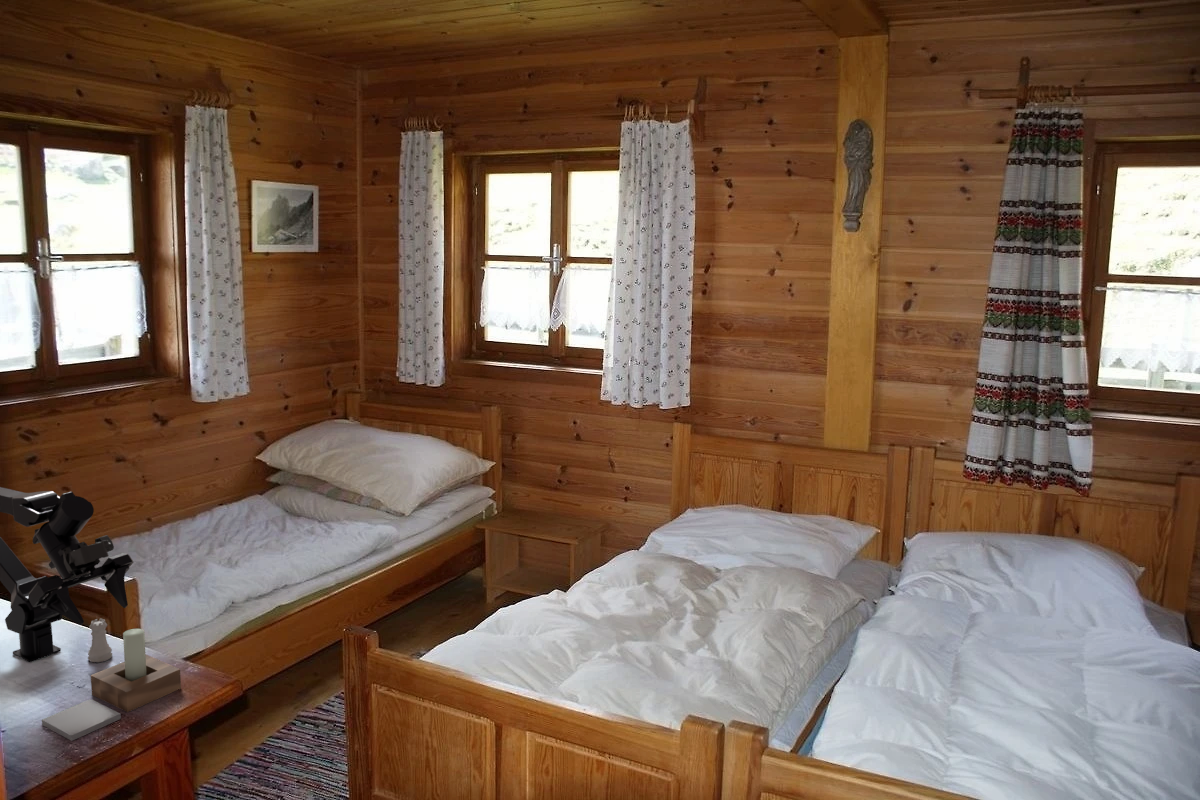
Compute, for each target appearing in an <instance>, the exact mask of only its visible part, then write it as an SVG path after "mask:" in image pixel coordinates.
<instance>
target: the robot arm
mask: <svg viewBox="0 0 1200 800" xmlns="http://www.w3.org/2000/svg"><path fill="white" fill-rule="evenodd" d="M94 512H95V509H94V506H93V503H91V501H89V500H88V499H86V498H84V497H83V496H77V495H75V494H74V492H73V491H69V492H65V493H62V494H61V495H60V496H59V495H58V494H57V493H56V492H54V491H53V490H43V491H42V490H41V491H35V492H23V491H20V490H19V491H18V490H14V489H10V488H6V487H1V486H0V513H3V514H7V515H10V516H13V521H14V522H16V523H18V524H20V525H22V526H23V527H26V528H28V527H32V526H36V525H39V524H42V525H41V526H40V527H39V528H36V529H34V535H33V537H32V544H34V545H36V544H39V543H40V545H41V546H42V548H43V549H44V551H45V554H47V556H48V558H49V559H50V562H49V563H48V566H49V568H50V569H51V570H52V569H55V570H56V571H57V573H58V574H59V575H56V574H54V575H51V576H49V577H48V576H47V575H44V576H42V577H38V578H37V577H34V575H32V573H31V572H30V571H29V570H28V569H27V567H26V566H25V565H24V564H23V563H22V561H21V560H20V558H18V556H17V555H16V554H15V553H14V551H13V550H12V549H11V547H9V546H8V544H7V543H6V542H5V540H4V539H3V538H2V537H1V536H0V583H1V584H2V585H3V587H4V588H5V589H6V590H7V591H8V592H9V593H10V609H11V611H10V612H9V613H8V614H7V616H6V617H5V619H4V621H5V625H6V628H7V630H9V631H11V632H14V633H17V634H18V635H19V636H18V637H19V638H18V639H19V648H18V649H16V650H13V651H12V655H13V656H15V657H17V658H20V659H22V660H23V661H26V662H28V663H33V662H35V661H37V660H40V659H43V658H45V657H46V658H47V657H49V656H51V655H53V654H56V653H59V652H61V651H62V648H61V647H58V645H57V646H56V644H55V645H54V641H53V640H54V639H53V629H52V628H53V627H52V626H53V625H52V624H53V623H55V622H58V621H62V618H63V617H65V618H67V619H69V620H70V621H72V622H74V623H76V624H77V625H79V626H81V625H83V624H84V623H85V620H84V618H83V616H82V614H81V612H80V611H79V609H78V608H77V606H76V605H75V603H74V601H73V600H72V598H71V596H70V592H69V588H72V587H75V586H76V587H77V586H78V585H81V584H84V583H86V582H90V581H92V580H95V579H99V578H101V580H102V581H105V582H104V584H103V585H104V586H105V588H106V589H107V590H108V592H109V593H110V594H111V595H112V597H113V598H114V599H115V600H116V602H117V603H118V604H119V605H120V606H121V607H122V609H126V608H127V607H128V605H129V603H128V598H127V591H126V585H125V577H126V573H127V572H128V571H129V570H130V568H131V566H132V565H133V564H134V560H133V558H132V557H131V555H130V554H129V553H126V552H122V553H119V554H116V555H112V556H109V552H111V551H114V549H115V546H114V543H113V540H112V539H111V538H110V537H109V535H103V536H100V537H98V538H95V539H94V543H92V544H89V545H88V544H87V543H86V542H85V541H82V542H80V541H79V539H78V538H77V536H76V535H78V534H79V533H80V532H81V531H82V530H83V528H84V527H85V526H86V524H87V523H88V522H89V521H90V519H91V518H92V517H93V514H94ZM107 557H108V558H107ZM103 558H104V559H105V558H106V560H105V561H104V563H103V564H102V565H101V566H98V567H95V566H96V565H99V564H100V562H101V560H100V559H103Z"/></svg>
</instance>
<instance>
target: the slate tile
mask: <svg viewBox="0 0 1200 800" xmlns="http://www.w3.org/2000/svg"><path fill="white" fill-rule="evenodd" d="M121 719H122V716H121V713H120V712H118V711H116V710H115V709H113V708H112V709H111V708H110V707H108V706H106V705H104V704H102V703H100V702H98V701H95V700H94V699H93V698H92V699H91V698H90V699H88V700H85V701H83V702H80V703H78V704H75V705H73V706H71V707H69V708H65V710H62V711H60V712H57V713H55V714H53V715H52V714H51V715H50V716H47V717H45V718H42V719H41V726H44V727H45V728H47V729H49V730H51V731H53V732H54V733H57V734H58V735H60V736H62V737H64V738H65V739H67V740H70V741H71V742H73V741H74V740H77V739H79V738H81V737H83V736H85V735H88V734H90V733H92V732H94V731H97V730H99V729H101V728H103V727H105V726H108V725H110V724H112V723H114V722H115V723H116V722H117V721H119V720H121Z"/></svg>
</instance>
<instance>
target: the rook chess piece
mask: <svg viewBox="0 0 1200 800" xmlns="http://www.w3.org/2000/svg"><path fill="white" fill-rule="evenodd" d="M88 627H89V629H90V630H91V633H90V635H91V646H90V648H89V650H88V651H87V655H88V657H87V659H88V660H89V661H90V662H91V663H95V662H97V663H96V664H98V663H103V661H104V662H106V661H109V660H110V659H111V658H112V656H113V652H112V651H113V650H112V647H111V646H110V645H109V643H108V640H107V637H106V634H107V630H106V628H107V627H108V624H107V622H106V619H103V618H99V620H98V618H96V619H94V620H91V622H90V625H89V626H88Z"/></svg>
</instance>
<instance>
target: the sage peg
mask: <svg viewBox="0 0 1200 800" xmlns="http://www.w3.org/2000/svg"><path fill="white" fill-rule="evenodd" d="M145 638H146V637H145V630H144V629H143V628H132V629H128V630H125V631H124V632H123V633H122V640H123V653H124V654H123V655H124V656H123V657H124V662H125V678H126V680H129V681H131V682H132V681H134V680H137V679H139V678H142V677H144V676H146V675H147V673H146V655H147V653H146V639H145Z"/></svg>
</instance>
